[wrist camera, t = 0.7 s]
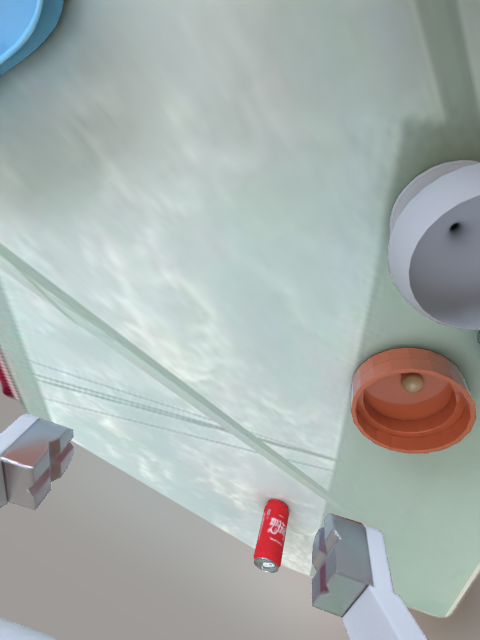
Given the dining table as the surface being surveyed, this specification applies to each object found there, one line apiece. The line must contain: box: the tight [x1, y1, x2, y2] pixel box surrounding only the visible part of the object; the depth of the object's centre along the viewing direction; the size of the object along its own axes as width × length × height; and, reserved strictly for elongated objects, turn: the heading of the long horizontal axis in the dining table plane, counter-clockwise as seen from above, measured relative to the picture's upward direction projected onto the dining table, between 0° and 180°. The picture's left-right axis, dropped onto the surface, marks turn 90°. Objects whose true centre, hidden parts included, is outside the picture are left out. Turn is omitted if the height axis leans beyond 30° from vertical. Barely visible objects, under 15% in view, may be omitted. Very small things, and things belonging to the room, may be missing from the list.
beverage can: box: [254, 499, 289, 573], centre depth 70 cm, size 5×5×12 cm
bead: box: [400, 372, 424, 393], centre depth 48 cm, size 3×3×3 cm
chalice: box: [388, 160, 480, 330], centre depth 33 cm, size 14×14×15 cm
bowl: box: [351, 347, 476, 453], centre depth 49 cm, size 15×15×6 cm
